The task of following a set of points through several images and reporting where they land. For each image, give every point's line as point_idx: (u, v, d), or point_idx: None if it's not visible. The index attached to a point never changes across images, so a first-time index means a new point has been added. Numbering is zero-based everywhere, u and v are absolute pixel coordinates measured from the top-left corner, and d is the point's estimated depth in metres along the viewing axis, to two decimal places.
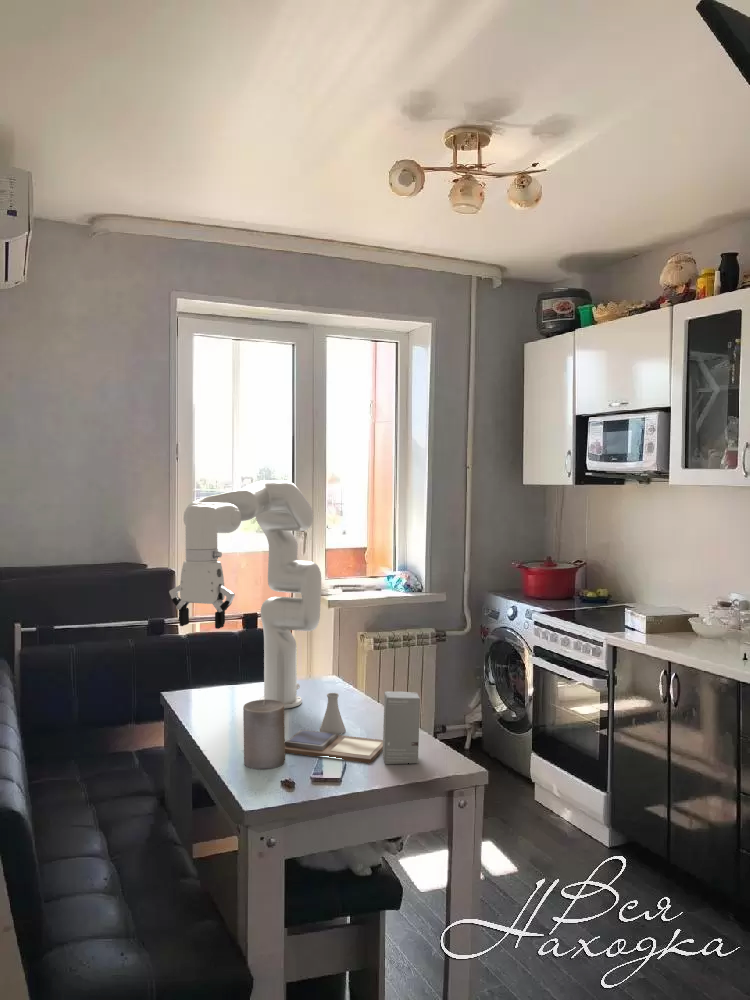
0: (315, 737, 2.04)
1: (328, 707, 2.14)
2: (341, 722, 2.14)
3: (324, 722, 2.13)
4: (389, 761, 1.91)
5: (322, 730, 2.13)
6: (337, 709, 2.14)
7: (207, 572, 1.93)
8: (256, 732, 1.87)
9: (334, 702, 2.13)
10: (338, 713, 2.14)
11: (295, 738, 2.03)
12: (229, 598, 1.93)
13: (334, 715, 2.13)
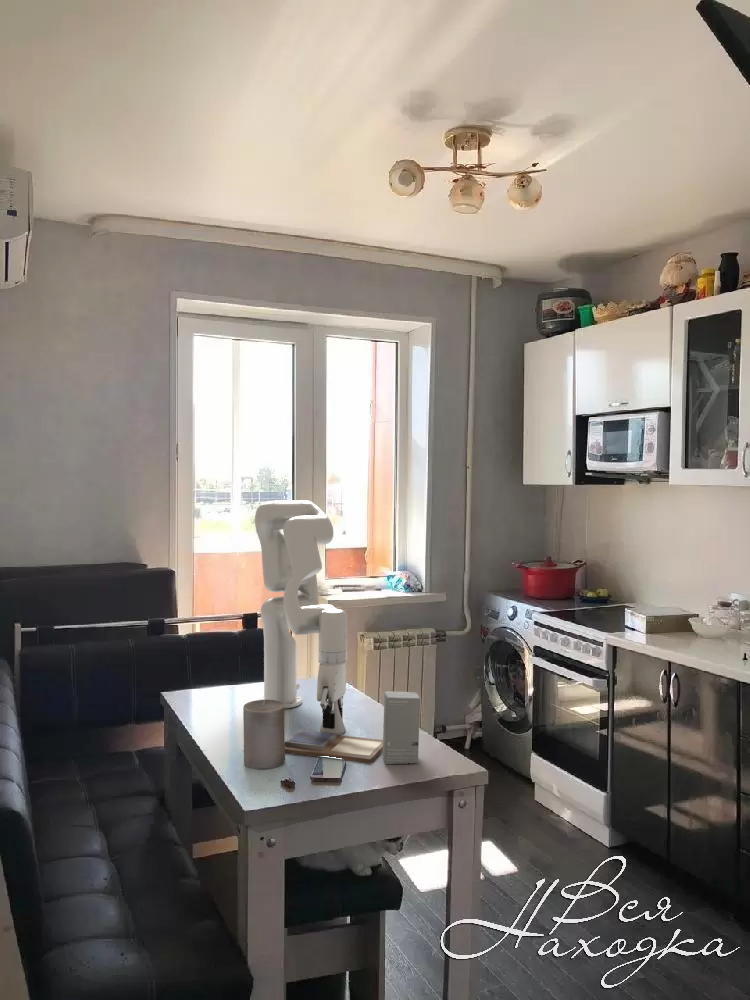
0: (315, 737, 2.04)
1: None
2: (341, 722, 2.14)
3: None
4: (389, 761, 1.91)
5: (322, 730, 2.13)
6: (337, 709, 2.14)
7: (344, 668, 2.16)
8: (256, 732, 1.87)
9: (334, 702, 2.13)
10: (338, 713, 2.14)
11: (295, 738, 2.03)
12: None
13: None
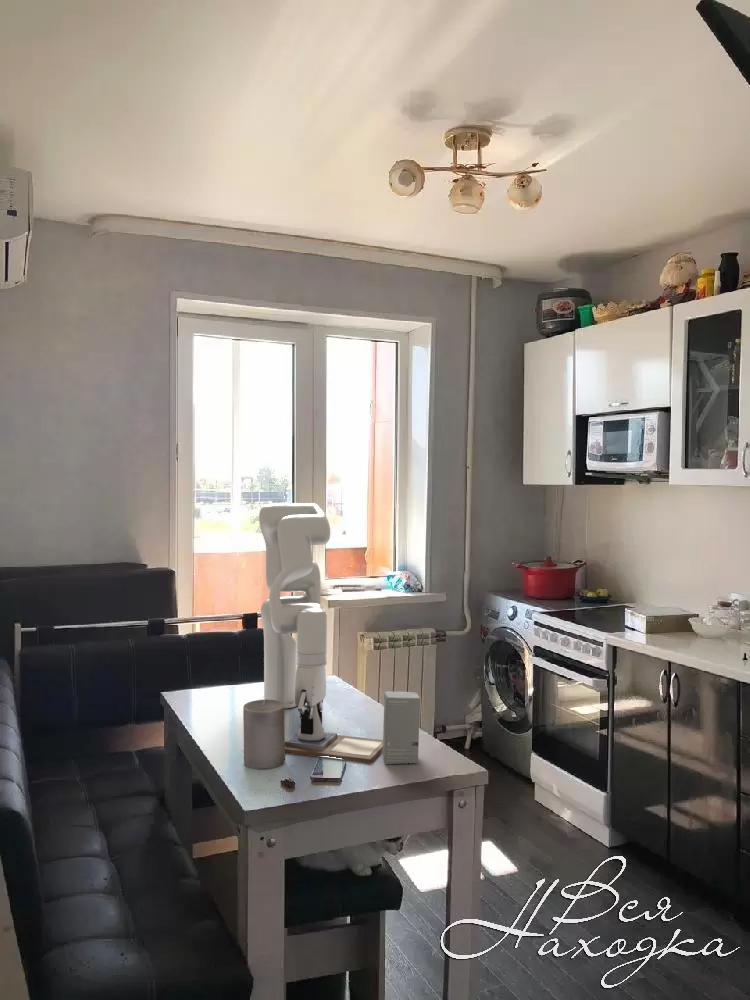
0: None
1: None
2: (320, 727, 2.03)
3: None
4: (389, 761, 1.91)
5: (300, 735, 2.01)
6: (316, 713, 2.03)
7: (324, 670, 2.05)
8: (256, 732, 1.87)
9: (313, 706, 2.02)
10: (317, 718, 2.03)
11: (295, 738, 2.03)
12: None
13: None
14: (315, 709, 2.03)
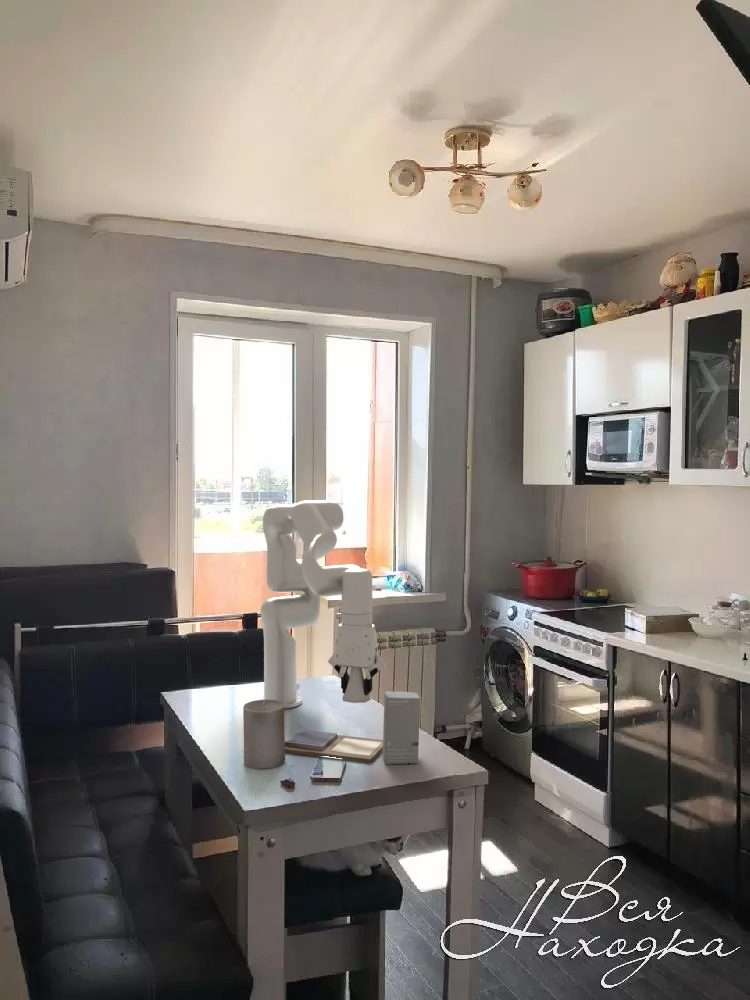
0: (315, 737, 2.04)
1: (360, 673, 1.98)
2: None
3: (363, 690, 1.97)
4: (389, 761, 1.91)
5: (365, 698, 1.97)
6: None
7: None
8: (256, 732, 1.87)
9: None
10: None
11: (295, 738, 2.03)
12: None
13: None
14: None
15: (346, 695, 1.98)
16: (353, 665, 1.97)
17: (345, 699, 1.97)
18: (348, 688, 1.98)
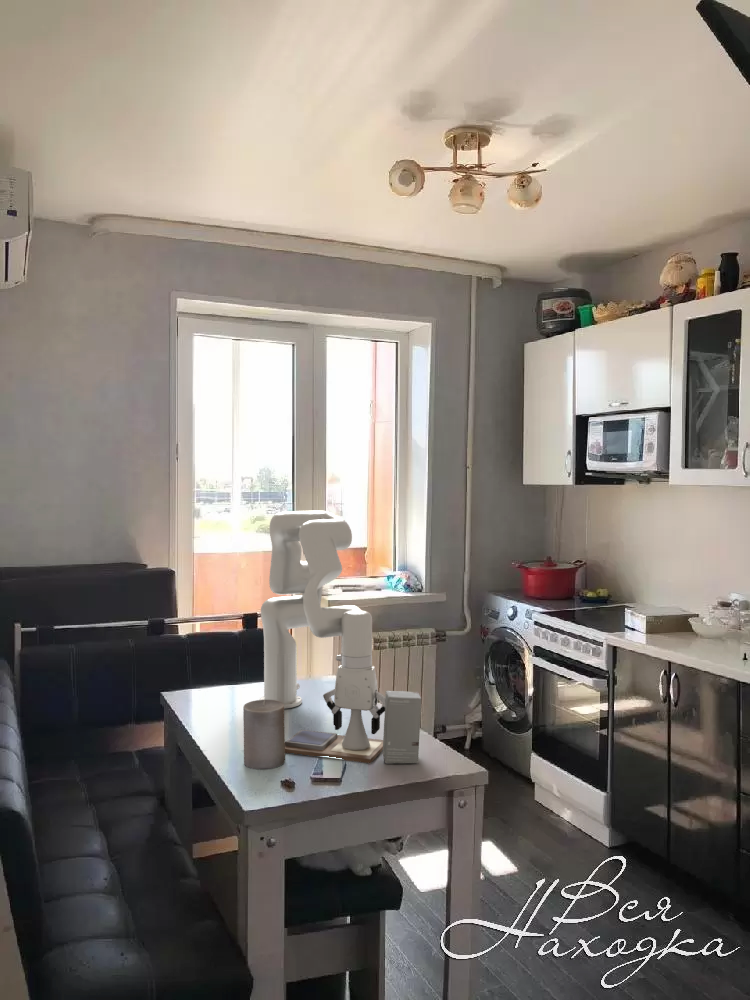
0: (315, 737, 2.04)
1: (360, 720, 1.99)
2: None
3: (363, 736, 1.98)
4: (389, 760, 1.91)
5: (365, 745, 1.98)
6: None
7: None
8: (256, 732, 1.87)
9: None
10: None
11: (295, 738, 2.03)
12: None
13: None
14: None
15: (345, 742, 1.98)
16: (353, 707, 1.97)
17: (345, 746, 1.98)
18: (348, 735, 1.98)
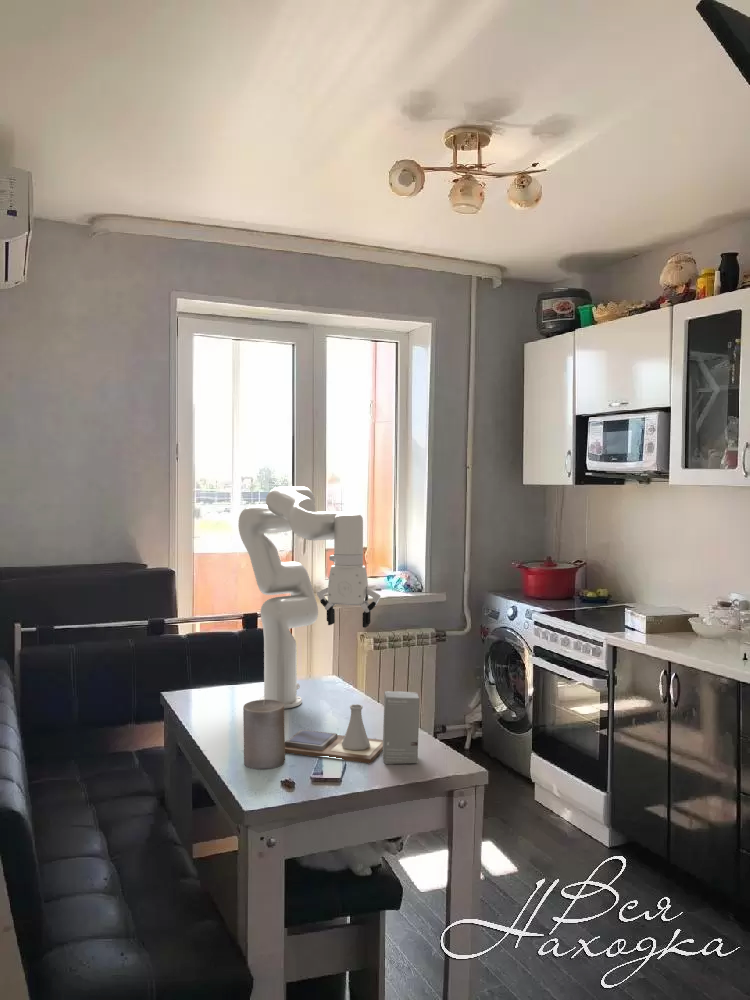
0: (315, 737, 2.04)
1: (360, 720, 1.99)
2: None
3: (363, 736, 1.98)
4: (388, 761, 1.91)
5: (365, 745, 1.98)
6: None
7: None
8: (256, 732, 1.87)
9: None
10: None
11: (295, 738, 2.03)
12: None
13: None
14: None
15: (345, 742, 1.98)
16: (345, 603, 2.11)
17: (345, 746, 1.98)
18: (348, 735, 1.98)
